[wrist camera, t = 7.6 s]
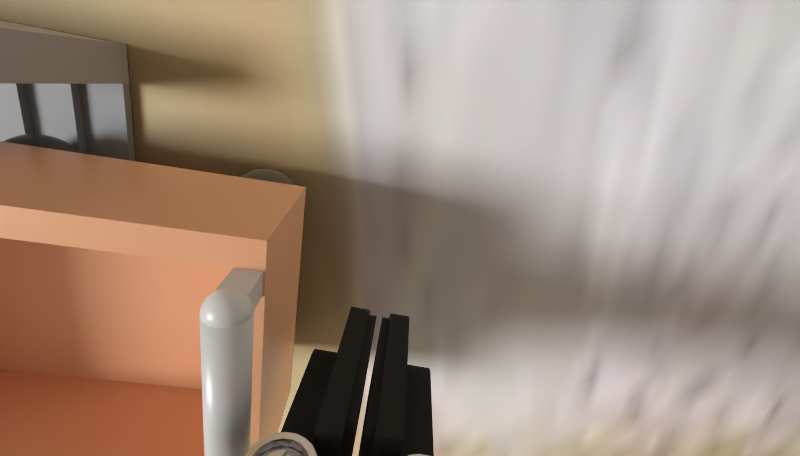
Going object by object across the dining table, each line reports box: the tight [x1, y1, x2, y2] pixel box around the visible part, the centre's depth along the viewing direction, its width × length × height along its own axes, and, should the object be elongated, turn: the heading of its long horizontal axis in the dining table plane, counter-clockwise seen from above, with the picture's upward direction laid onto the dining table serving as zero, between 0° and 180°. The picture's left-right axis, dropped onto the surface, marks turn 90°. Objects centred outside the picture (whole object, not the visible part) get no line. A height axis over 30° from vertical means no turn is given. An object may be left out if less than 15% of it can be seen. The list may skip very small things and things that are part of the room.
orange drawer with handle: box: [0, 134, 306, 456], centre depth 11 cm, size 10×8×8 cm
